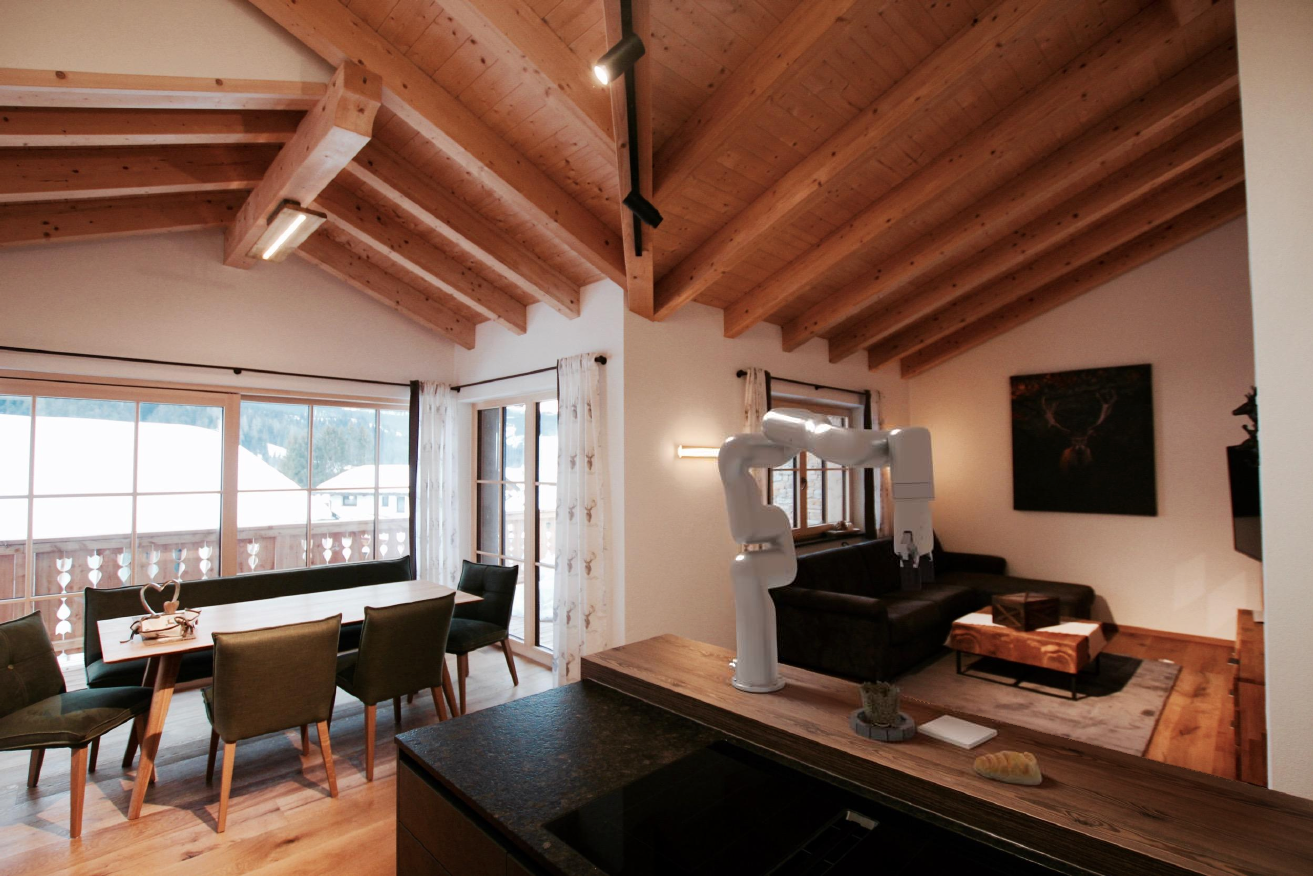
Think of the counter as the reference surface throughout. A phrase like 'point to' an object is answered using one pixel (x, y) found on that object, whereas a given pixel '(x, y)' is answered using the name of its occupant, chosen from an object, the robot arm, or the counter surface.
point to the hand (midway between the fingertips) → (918, 585)
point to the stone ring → (881, 732)
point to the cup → (880, 703)
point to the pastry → (1009, 767)
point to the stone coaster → (957, 731)
